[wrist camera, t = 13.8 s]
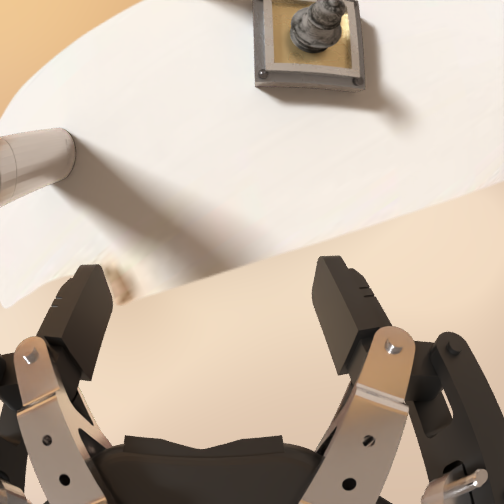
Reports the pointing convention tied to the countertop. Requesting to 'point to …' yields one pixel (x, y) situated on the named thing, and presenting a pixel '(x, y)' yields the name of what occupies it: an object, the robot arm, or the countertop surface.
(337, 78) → the grey square box
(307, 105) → the countertop surface
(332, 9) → the grey stone figure
